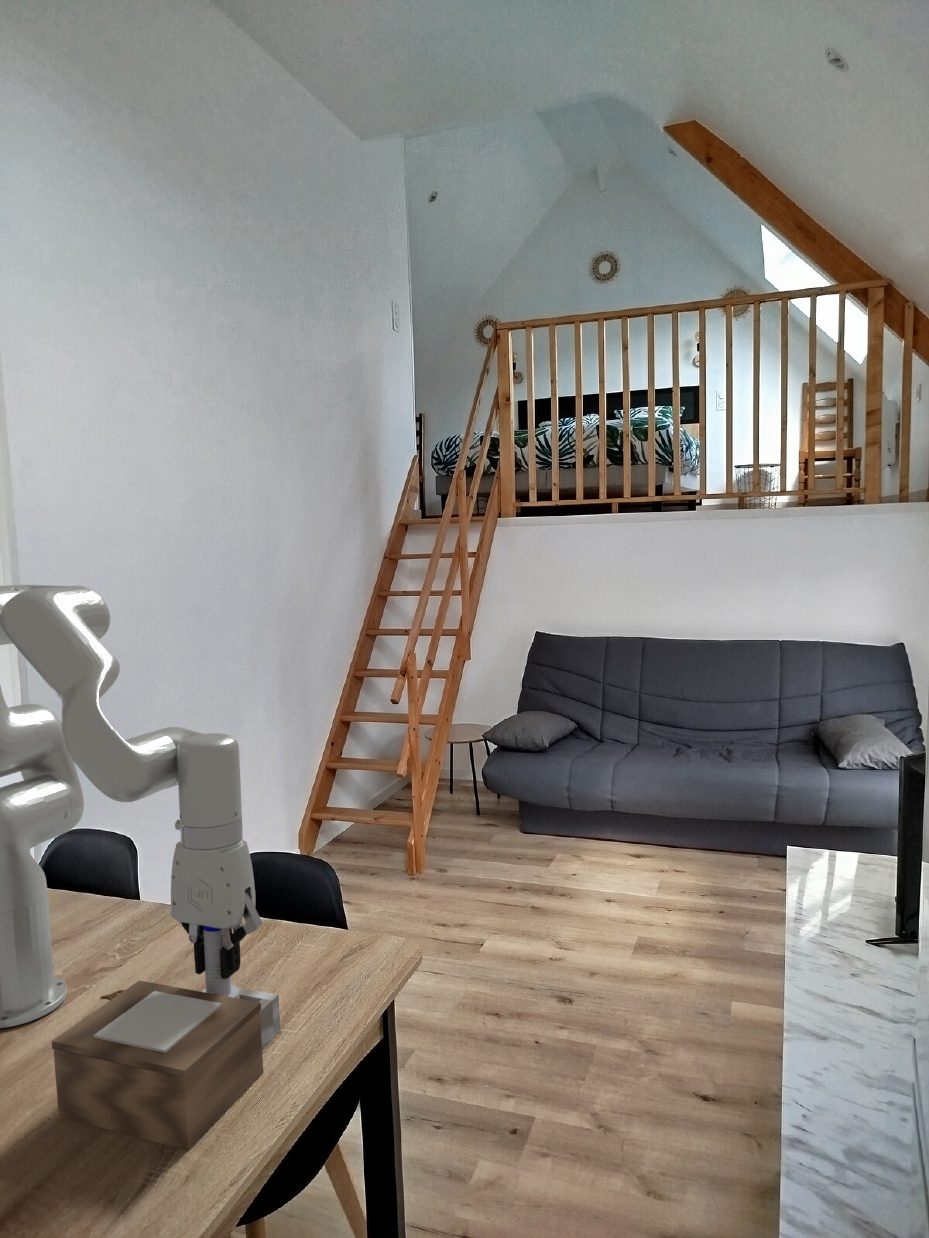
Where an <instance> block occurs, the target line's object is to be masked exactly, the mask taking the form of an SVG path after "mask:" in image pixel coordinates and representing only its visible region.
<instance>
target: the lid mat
mask: <svg viewBox="0 0 929 1238" xmlns="http://www.w3.org/2000/svg"><path fill="white" fill-rule="evenodd" d="M221 1006H222V1004H221V1003H217V1002H212V1001H206V1000H201V999H196V998H190V997H185V996H179V995H174V994H168V993H163V992H158V991H154V992H152V993H151V994H150V995H148V996H147V997H145V998H144V999H143V1000H141V1001H140V1002H139V1003H137V1004H136V1005H134V1006H133V1007H132V1008H130V1009H129V1010H128V1011H126V1012H125V1013H123V1014H122V1015H121V1016H119V1017H118V1018H117V1019H115V1020H114V1021H112V1022H111V1023H110V1024H108V1025H107V1026H106V1027H104V1028H103V1029H101V1030H100V1031H99V1032H97V1033H96V1034H95V1035H94V1038H98V1039H103V1040H108V1041H112V1042H117V1043H121V1044H126V1045H131V1046H135V1047H140V1048H145V1049H149V1050H154V1051H159V1052H163V1053H166V1052H167V1051H168V1050H170V1049H171V1048H172V1047H173V1046H174V1045H176V1044H177V1043H178V1042H179V1041H180V1040H181V1039H183V1038H184V1037H185V1036H186V1035H187V1034H189V1033H190V1032H191V1031H192V1030H193V1029H195V1028H196V1027H197V1026H198V1025H199V1024H200V1023H202V1022H203V1021H204V1020H205V1019H206V1018H208V1017H209V1016H210V1015H211V1014H212V1013H213V1012H215V1011H216V1010H217V1009H218V1008H219V1007H221Z"/></svg>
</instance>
